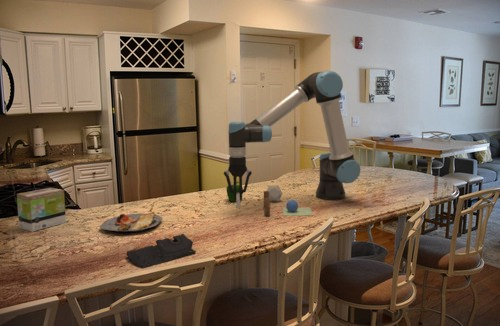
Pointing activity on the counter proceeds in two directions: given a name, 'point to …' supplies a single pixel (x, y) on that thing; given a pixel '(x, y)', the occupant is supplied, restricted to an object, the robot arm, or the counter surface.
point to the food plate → (131, 222)
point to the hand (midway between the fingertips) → (238, 207)
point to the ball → (292, 205)
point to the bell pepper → (231, 195)
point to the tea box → (41, 209)
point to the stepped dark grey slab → (162, 251)
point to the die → (274, 193)
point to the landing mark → (298, 212)
